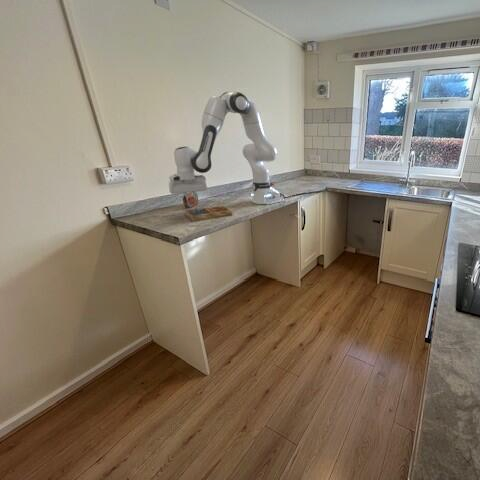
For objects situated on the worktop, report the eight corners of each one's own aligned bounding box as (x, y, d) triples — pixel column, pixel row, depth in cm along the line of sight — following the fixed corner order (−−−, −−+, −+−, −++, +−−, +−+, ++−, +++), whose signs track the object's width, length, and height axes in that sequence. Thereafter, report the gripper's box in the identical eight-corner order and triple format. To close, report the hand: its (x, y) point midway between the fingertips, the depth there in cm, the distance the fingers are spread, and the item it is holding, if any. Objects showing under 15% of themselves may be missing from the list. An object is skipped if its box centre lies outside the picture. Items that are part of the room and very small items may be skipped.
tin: (188, 209, 162) (186, 195, 159) (183, 208, 162) (181, 195, 159) (199, 203, 176) (197, 191, 173) (194, 203, 176) (192, 190, 173)
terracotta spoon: (186, 201, 159) (185, 196, 158) (192, 200, 161) (191, 195, 160) (190, 204, 152) (189, 199, 151) (196, 203, 154) (195, 198, 153)
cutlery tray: (223, 209, 163) (223, 205, 162) (232, 215, 153) (231, 210, 152) (185, 215, 150) (185, 210, 149) (192, 221, 140) (191, 216, 139)
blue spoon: (193, 213, 151) (193, 208, 150) (200, 212, 153) (199, 207, 152) (198, 217, 143) (197, 212, 142) (205, 216, 146) (204, 211, 144)
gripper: (203, 174, 159) (206, 196, 164) (166, 176, 147) (171, 200, 153) (206, 175, 154) (209, 198, 160) (168, 178, 143) (173, 202, 148)
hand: (190, 199), depth 156 cm, fingers closed on terracotta spoon
